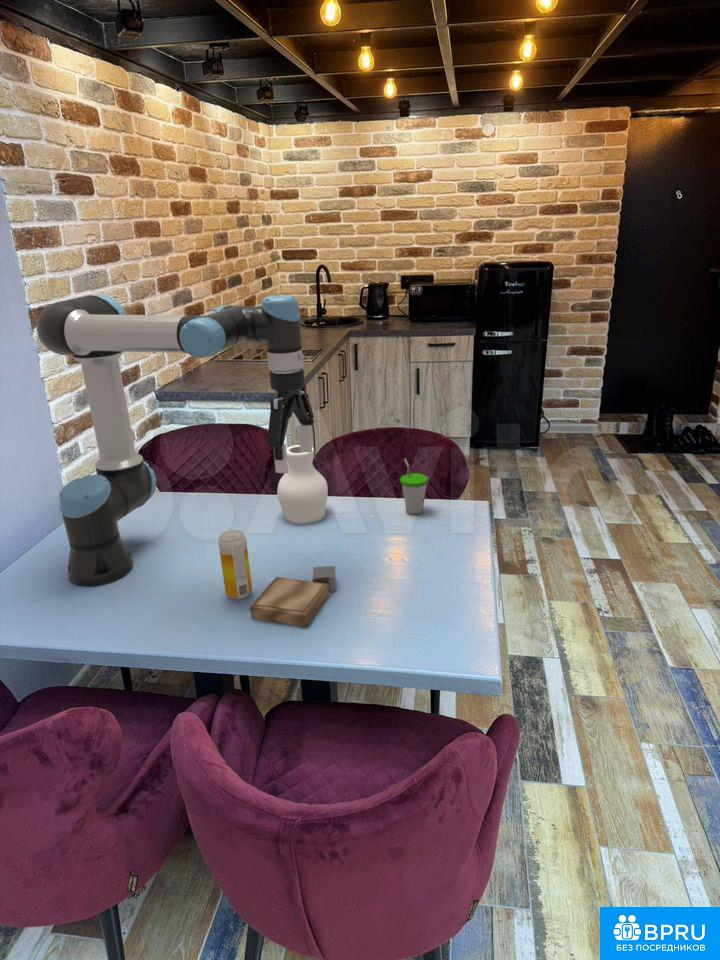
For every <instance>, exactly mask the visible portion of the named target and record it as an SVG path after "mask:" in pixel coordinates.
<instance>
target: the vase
mask: <svg viewBox="0 0 720 960" xmlns="http://www.w3.org/2000/svg"><path fill="white" fill-rule="evenodd" d="M286 451H287V462H288V473H287V474H286V473H283V475H282V477H281V478H280V480H279V481H278V484H277V493H276V495H277V499H278V502H279V505H280V507H281V508H280V509H281V511H282V515H283V519H284V520H285V521H286V522H288V523H290V524H295V525H310V524H314V523H317V522H320V521H321V520H323V519H324V518H325V517H326V508H327V507H326V506H327V502H328V494H329V490H328V482H327V480H326V479H325V477H324V476H323V474H321V473H320V472H319V471H318V469H316V468H315V466H314V464H313V459H314V455H315V448H314V447H313V446H312V452H311V453H310V452H300V444H295V445H291V446H288V447H286Z"/></svg>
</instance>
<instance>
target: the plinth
mask: <svg viewBox="0 0 720 960" xmlns="http://www.w3.org/2000/svg"><path fill="white" fill-rule="evenodd" d="M329 597H330V592H329V584H325V583H317V582H313V581H309V580H302V579H301V580H300V579H295V578H294V579H293V578H289V577H288V578H287V577H280V576H275V577H274V579H273V580H271V582H270V583H269V584H268V585H267V587H266V588H265V589H264V590H263V591H262V592H261V593H260V594H259V596H258V597H257V598H256V599H255V601H253V603H252V604H251V605H250V606H249V609H250V617H251V619H252V620H257V621H261V622H269V623H276V624H282V625H287V626H288V625H289V626H294V627H300V628H306V629H307V628H308V627H309V626H310V625H311V623H312V622H313V620H314V619H315V617H317V614H318V613H319V611H321V608H322V607H323V606H324V604H325V603H326V602H327V600H328V599H329Z"/></svg>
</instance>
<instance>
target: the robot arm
mask: <svg viewBox="0 0 720 960" xmlns="http://www.w3.org/2000/svg"><path fill="white" fill-rule="evenodd" d="M261 302H262V303H261V305H258V306H248V305H247V306H245V305H243V306H242V305H241V306H240V305H233V304H232V305H230V304H229V305H226V306H216V307H215V308H214V309H213V311H212V313H210V314H206V315H193V314H192V315H185V314H184V315H183V314H182V315H179V314H178V315H176V314H172V315H171V314H169V315H168V314H127V313H126V311H125V309H124V308H123V306H122V305H121V304H120V303H118V301H116V300H115V299H114V298H113V297H111V296H108V295H106V294H89V295H83V296H80V297H76V298H70V299H67V300H62V301H56V302H53V303H52V304H49V305H47V306H45V308H44V309H43V310H41V312H40V314H39V315H38V318H37V320H36V333H37V335H38V338H39V340H40V342H41V343H42V345H43V346H44V347H45V348H46V349H48V350H49V351H50V352H52V353H54V354H57V355H61V356H72V359H74V360H75V361H77V362H78V363H79V364H80V366H81V371H82V376H83V380H84V384H85V390H86V394H87V395H86V397H87V399H88V404H89V405H88V406H89V410H90V415H91V420H92V425H93V430H94V435H95V439H96V445H97V449H98V453H99V458H98V460H97V461H96V462H95V464H94V465H95V471H96V474H90V475H85V476H84V475H83V476H82V477H81V478H80V477H77V478H75V479H73V480H71V481H70V482H69V481H68V483H67V484H65V485H64V486H63V487H62V489H61V490H60V492H59V498H58V499H59V509H60V512H61V516H62V519H63V523H64V527H65V531H66V535H67V539H68V540H67V541H68V544H69V548H70V549H69V556H68V565H67V574H68V578H69V581H70V582H71V583H73V584H75V585H78V586H82V587H83V586H84V587H95V586H100V585H101V586H102V585H105V584H110V583H112V582H116V581H117V580H120V579H121V578H123V577H124V576H127V574H129V573H130V572H131V571H132V569H133V568H134V562H133V556H132V553H130V551H129V550H128V549H127V546H126V545H125V543H124V541H123V540H122V538H121V535H120V530H119V524H118V521H120V520H122V519H123V518H125V517H126V516H127V515H129V514H130V513H132V512H133V511H135V510H136V509H139V508H141V507H142V506H144V505H146V503H147V502H148V501H149V500H151V498H152V497H153V495H154V494H155V492H156V488H157V477H156V473H155V471H154V470H153V468H151V467H150V464H149V463H148V462H146V461H144V457H143V455H141V454H139V453H137V451H136V447H135V442H134V441H135V440H134V436H133V431H132V427H131V421H130V416H129V409H128V405H127V399H126V393H125V389H124V388H125V386H124V382H123V377H122V371H121V367H120V366H121V365H120V361H119V360H120V358H121V357H122V355H123V354H124V352H126V353H127V352H130V353H131V352H133V353H134V352H135V353H166V354H167V353H168V354H169V353H170V354H171V353H172V354H188V355H190V356H191V357H193V358H195V359H205V358H210V357H213V356H215V355H217V354H218V353H221V352H223V351H226V350H228V349H230V348H232V347H235V346H238V345H240V344H242V343H265V344H266V345H265V346H266V353H267V362H268V363H267V365H268V370H269V371H270V372H269V382H270V388H271V389H272V390H273V391H275V392H276V393H277V395H276V398H271V399H270V401H269V403H270V405H269V406H270V412H269V423H268V430H267V431H268V433H267V441H266V445H267V446H273V447H272V449H273V456H274V457H273V460H274V468H275V473H277V474H285V473H286V474H287V473H288V466H289V464H288V461H287V451H286V448H287V444H286V443H285V439H286V434H287V429H288V427H289V426H288V425H289V420H290V418H292V416H293V414H294V416H295V417H296V418H297V421H298V423H299V424H298V425H297V427H298V428H297V429H298V439H299V445H300V452H310V453H311V452H312V447H313V445H312V432H311V425H314V424H315V419H314V418H315V415H314V413H313V409H312V408H313V407H312V405H311V402H310V399H309V396H308V394H307V386H306V378H305V370H304V369H303V367H304V359H305V355H304V354H303V344H302V329H301V317H302V316H301V315H300V307H299V301H298V299H297V298H296V297H295V296H293V295H289V294H281V295H270V296H265V297H264V298H263V299H262V301H261Z"/></svg>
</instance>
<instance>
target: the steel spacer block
mask: <svg viewBox="0 0 720 960" xmlns="http://www.w3.org/2000/svg"><path fill="white" fill-rule="evenodd" d="M336 577H337V576H336V566H335V565H329V566H326V565H325V566H313V567H312V582H317V583H325V584H329V593H335V592H336V590H337V589H336V588H337V587H336V586H337V585H336V584H337V580H336Z"/></svg>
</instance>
